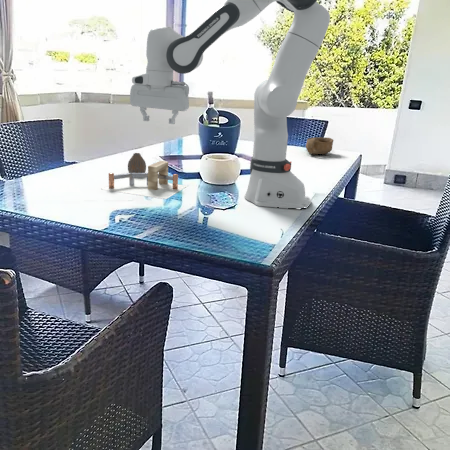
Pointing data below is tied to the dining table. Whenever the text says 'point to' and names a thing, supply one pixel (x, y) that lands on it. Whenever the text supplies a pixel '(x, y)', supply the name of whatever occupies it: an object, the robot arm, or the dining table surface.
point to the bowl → (319, 145)
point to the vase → (136, 164)
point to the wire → (132, 175)
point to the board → (145, 188)
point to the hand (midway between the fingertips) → (158, 122)
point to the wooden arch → (153, 174)
